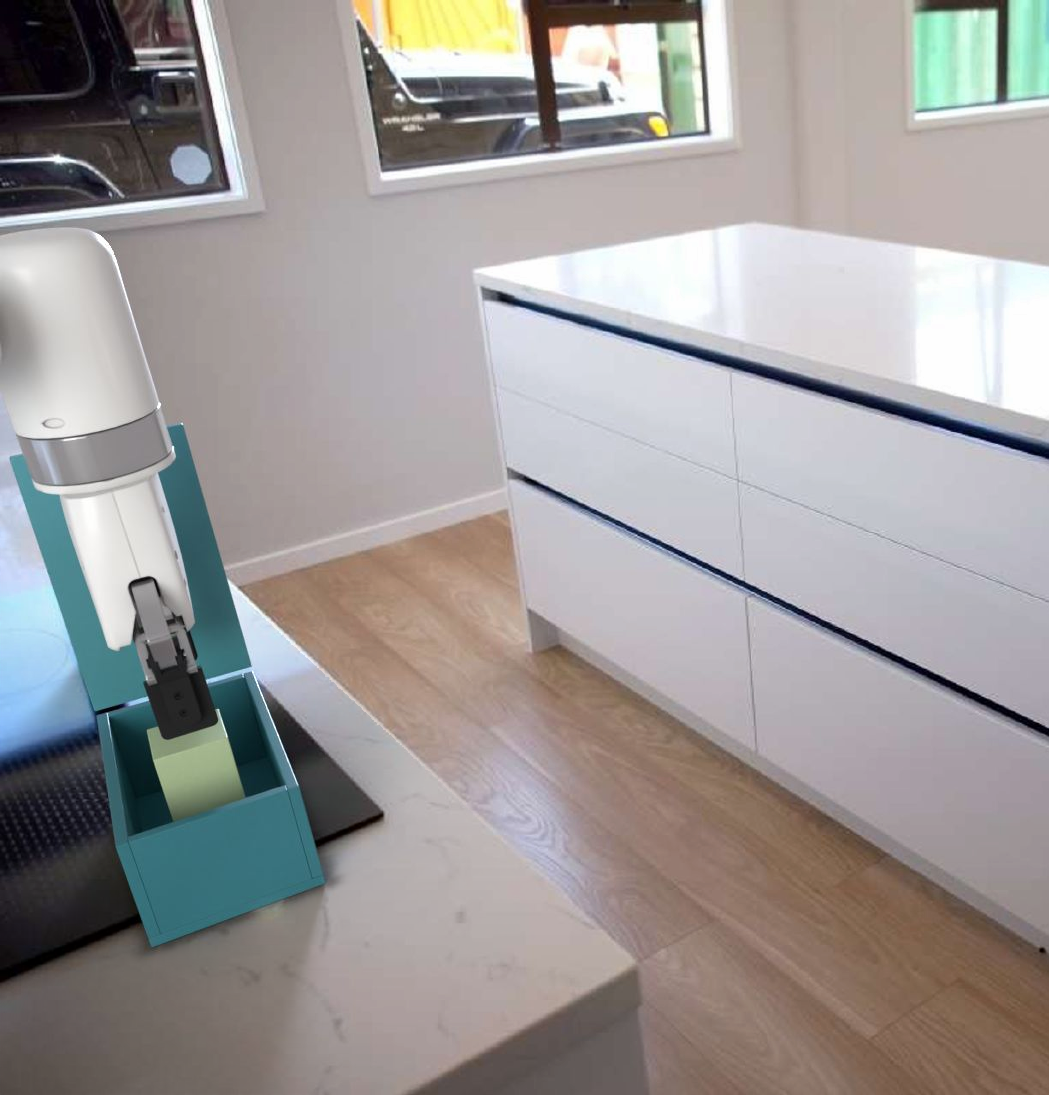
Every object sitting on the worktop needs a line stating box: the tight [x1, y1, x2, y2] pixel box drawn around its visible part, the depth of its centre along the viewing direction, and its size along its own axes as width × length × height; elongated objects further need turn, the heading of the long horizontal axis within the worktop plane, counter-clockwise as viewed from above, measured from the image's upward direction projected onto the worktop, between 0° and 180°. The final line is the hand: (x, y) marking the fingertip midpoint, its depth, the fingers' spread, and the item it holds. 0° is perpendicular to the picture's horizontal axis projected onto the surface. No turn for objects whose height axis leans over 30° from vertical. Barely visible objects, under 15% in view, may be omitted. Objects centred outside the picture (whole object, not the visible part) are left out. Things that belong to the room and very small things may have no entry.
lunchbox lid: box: [8, 422, 253, 712], centre depth 88 cm, size 18×10×5 cm
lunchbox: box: [96, 670, 326, 948], centre depth 85 cm, size 18×10×8 cm, turn 31°
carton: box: [147, 709, 246, 822], centre depth 83 cm, size 4×4×9 cm
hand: (181, 696), depth 80 cm, fingers open, 9 cm apart
